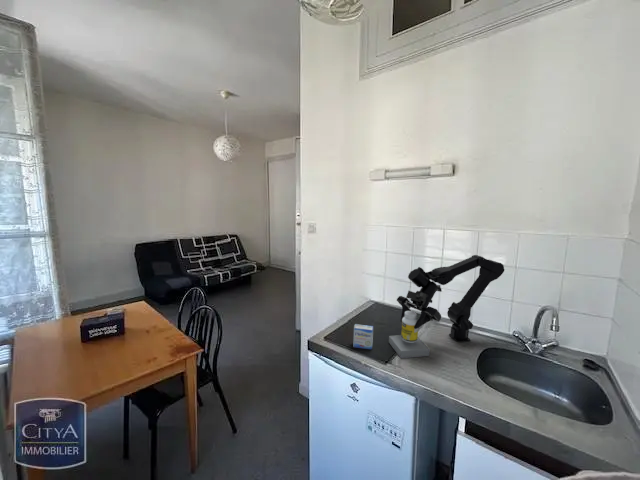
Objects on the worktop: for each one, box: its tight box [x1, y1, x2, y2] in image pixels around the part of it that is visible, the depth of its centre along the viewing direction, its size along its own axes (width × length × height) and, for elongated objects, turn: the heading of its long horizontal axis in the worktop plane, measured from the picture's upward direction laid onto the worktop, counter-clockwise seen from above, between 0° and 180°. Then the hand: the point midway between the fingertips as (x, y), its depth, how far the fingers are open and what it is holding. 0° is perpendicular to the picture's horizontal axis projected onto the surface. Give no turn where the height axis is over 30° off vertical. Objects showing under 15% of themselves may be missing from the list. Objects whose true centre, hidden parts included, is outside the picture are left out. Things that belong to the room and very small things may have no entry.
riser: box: [388, 334, 431, 359], centre depth 116 cm, size 12×12×3 cm
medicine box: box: [352, 323, 374, 350], centre depth 118 cm, size 8×4×9 cm, turn 76°
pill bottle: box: [400, 310, 419, 343], centre depth 115 cm, size 6×6×12 cm
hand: (407, 325), depth 114 cm, fingers closed on pill bottle, 6 cm apart
